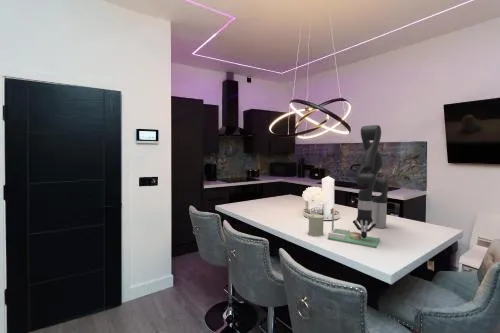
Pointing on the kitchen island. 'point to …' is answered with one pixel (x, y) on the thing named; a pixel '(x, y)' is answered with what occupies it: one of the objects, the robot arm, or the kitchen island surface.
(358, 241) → the putting green
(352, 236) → the puck
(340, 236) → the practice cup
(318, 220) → the can
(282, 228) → the kitchen island surface
